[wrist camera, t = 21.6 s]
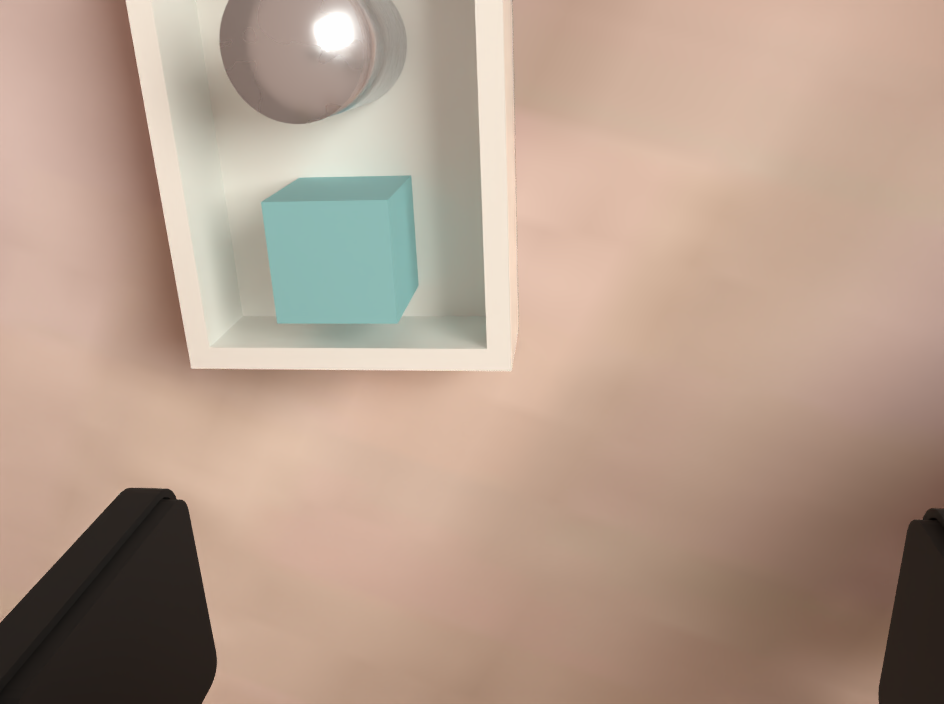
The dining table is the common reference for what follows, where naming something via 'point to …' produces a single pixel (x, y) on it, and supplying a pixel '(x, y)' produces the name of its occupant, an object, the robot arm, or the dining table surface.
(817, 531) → the dining table surface
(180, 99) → the tote
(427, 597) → the dining table surface
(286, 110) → the steel cylinder
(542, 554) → the dining table surface
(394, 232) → the teal cube
